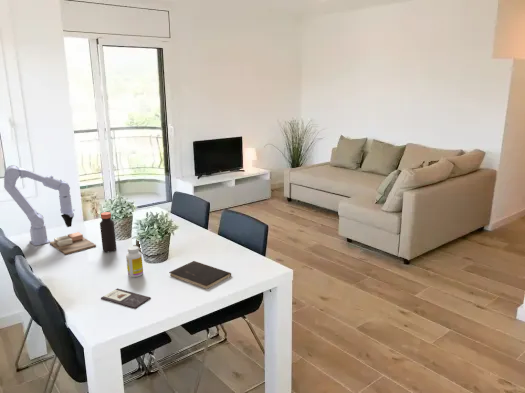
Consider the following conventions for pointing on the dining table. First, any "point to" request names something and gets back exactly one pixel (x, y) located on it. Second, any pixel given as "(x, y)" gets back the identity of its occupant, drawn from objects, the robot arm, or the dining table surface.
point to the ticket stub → (75, 236)
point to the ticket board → (71, 244)
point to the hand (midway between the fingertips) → (69, 226)
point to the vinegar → (107, 232)
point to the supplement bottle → (134, 262)
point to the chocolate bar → (126, 298)
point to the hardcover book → (200, 274)
